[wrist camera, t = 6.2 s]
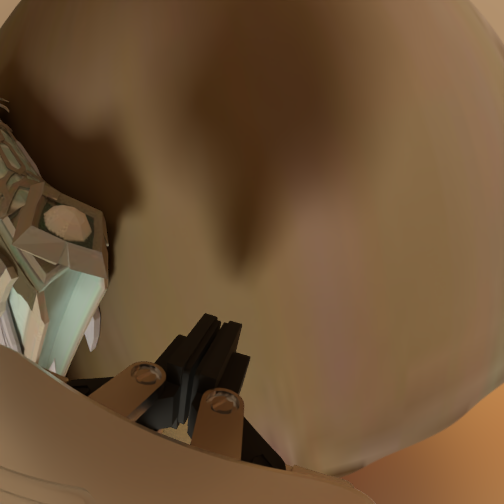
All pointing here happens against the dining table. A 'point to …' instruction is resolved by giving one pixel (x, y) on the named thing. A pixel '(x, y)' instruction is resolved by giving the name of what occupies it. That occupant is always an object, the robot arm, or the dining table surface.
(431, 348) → the dining table surface
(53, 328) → the ornate book
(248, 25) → the dining table surface
